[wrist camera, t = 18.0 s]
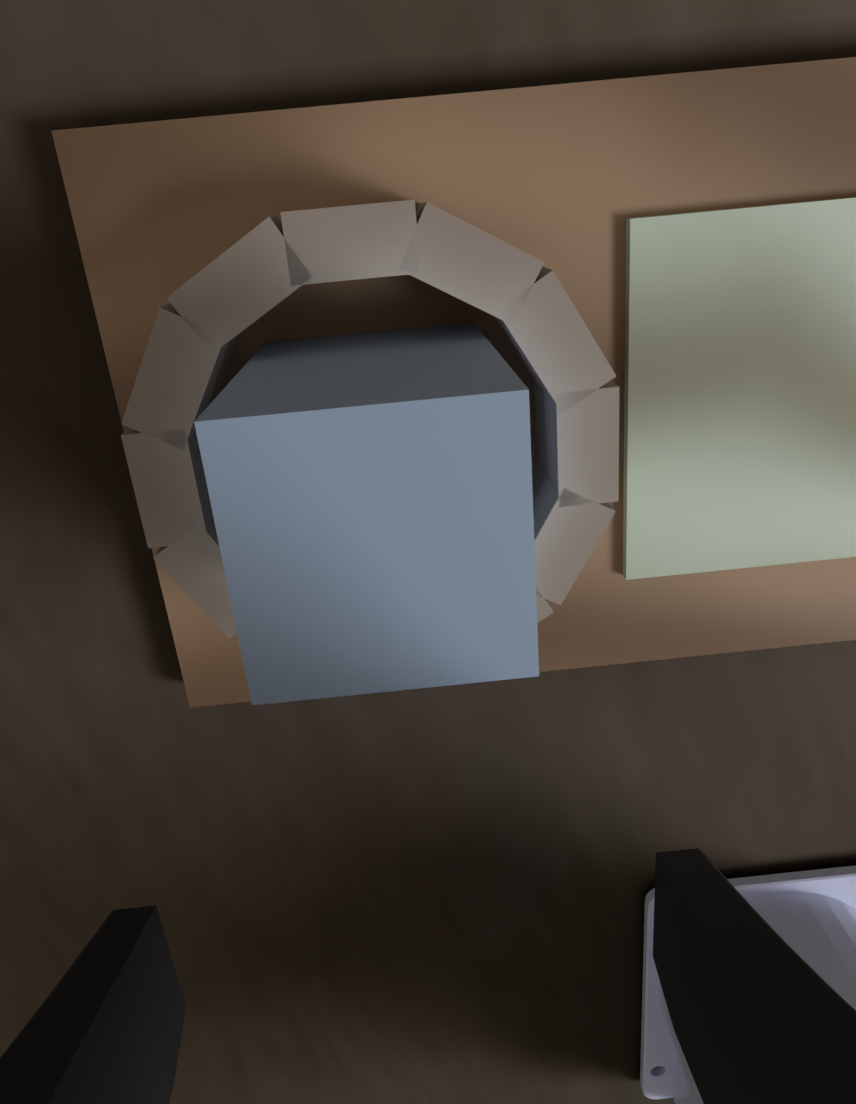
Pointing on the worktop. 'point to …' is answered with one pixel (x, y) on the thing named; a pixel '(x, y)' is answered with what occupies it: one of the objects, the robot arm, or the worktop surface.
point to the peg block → (375, 513)
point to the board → (509, 192)
